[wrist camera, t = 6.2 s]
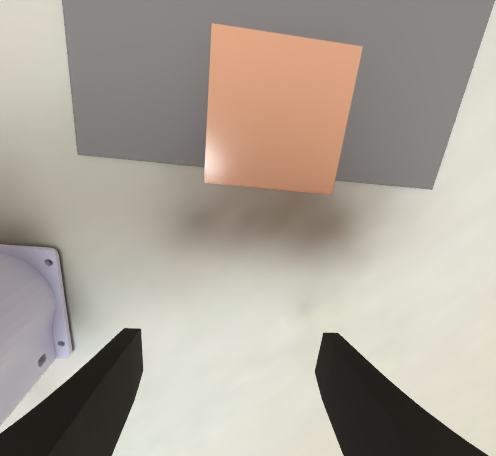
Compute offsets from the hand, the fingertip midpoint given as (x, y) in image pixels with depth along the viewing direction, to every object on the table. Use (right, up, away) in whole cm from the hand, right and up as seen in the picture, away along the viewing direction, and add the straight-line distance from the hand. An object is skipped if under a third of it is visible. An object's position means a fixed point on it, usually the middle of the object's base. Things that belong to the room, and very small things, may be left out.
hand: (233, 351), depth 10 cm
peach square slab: (+2, +7, +6) cm, 10 cm away
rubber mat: (+2, +14, +5) cm, 15 cm away
